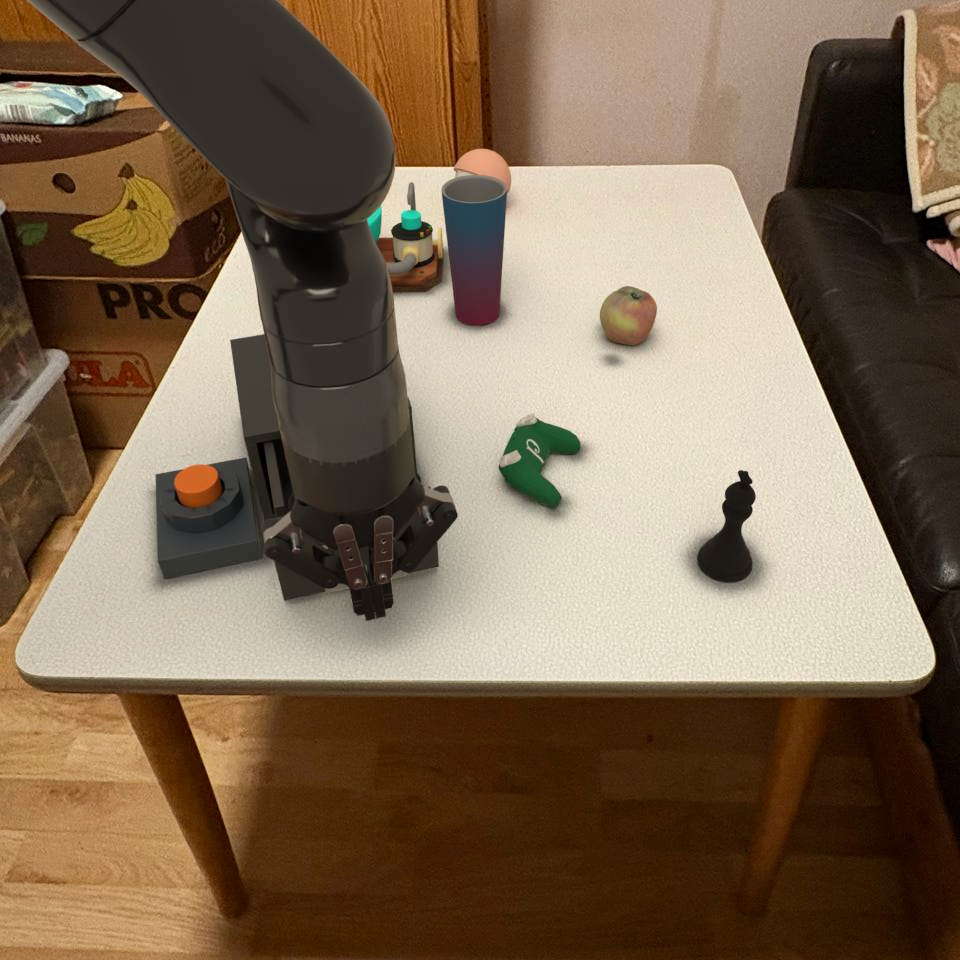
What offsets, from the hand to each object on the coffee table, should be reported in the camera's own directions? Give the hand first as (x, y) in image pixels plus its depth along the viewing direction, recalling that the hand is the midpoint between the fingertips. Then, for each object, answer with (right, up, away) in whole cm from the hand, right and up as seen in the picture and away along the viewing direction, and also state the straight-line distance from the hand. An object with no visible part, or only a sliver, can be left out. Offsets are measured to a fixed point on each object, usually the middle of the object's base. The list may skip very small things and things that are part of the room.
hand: (374, 609), depth 64 cm
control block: (-16, +5, +15) cm, 23 cm away
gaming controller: (+13, +10, +19) cm, 25 cm away
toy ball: (+8, +46, +60) cm, 76 cm away
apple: (+23, +24, +35) cm, 49 cm away
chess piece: (+28, +2, +11) cm, 30 cm away
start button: (-16, +8, +13) cm, 22 cm away
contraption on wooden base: (-6, +34, +47) cm, 59 cm away
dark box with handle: (-3, +4, +12) cm, 13 cm away
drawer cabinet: (-7, +11, +21) cm, 25 cm away
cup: (+7, +28, +40) cm, 49 cm away
